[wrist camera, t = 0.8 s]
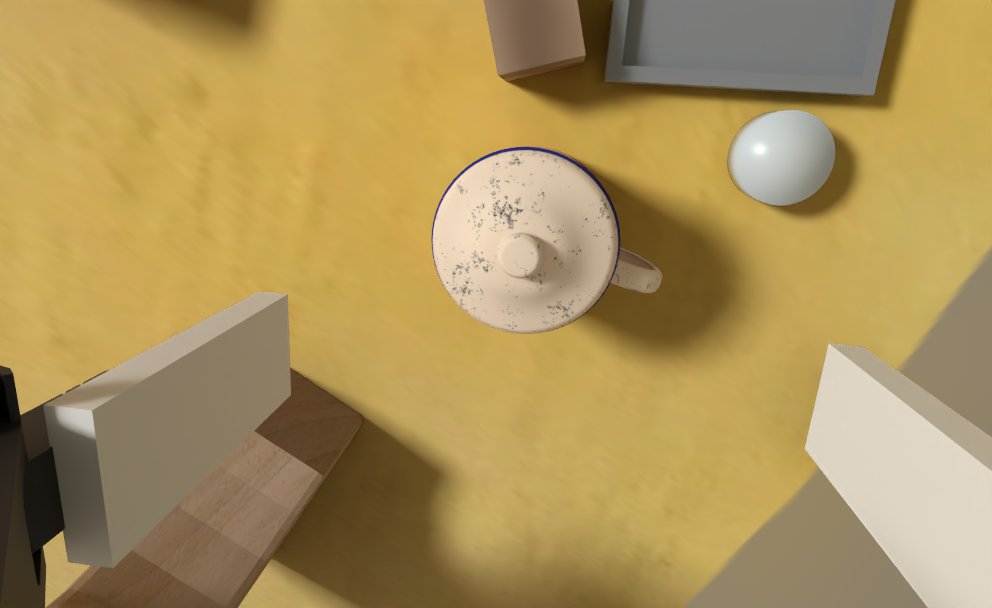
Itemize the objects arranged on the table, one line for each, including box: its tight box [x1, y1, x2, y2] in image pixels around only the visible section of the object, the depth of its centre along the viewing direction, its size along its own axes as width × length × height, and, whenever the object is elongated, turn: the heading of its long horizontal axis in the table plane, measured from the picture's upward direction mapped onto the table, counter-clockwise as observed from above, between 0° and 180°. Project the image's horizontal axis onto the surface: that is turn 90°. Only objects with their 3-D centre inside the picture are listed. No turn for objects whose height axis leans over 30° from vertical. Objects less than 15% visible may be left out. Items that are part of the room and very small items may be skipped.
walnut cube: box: [484, 0, 586, 82], centre depth 32 cm, size 4×4×4 cm
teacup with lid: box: [432, 147, 663, 334], centre depth 32 cm, size 12×9×12 cm
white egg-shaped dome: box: [727, 110, 835, 205], centre depth 34 cm, size 5×5×2 cm
